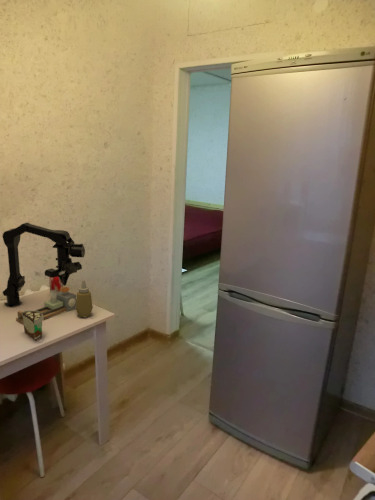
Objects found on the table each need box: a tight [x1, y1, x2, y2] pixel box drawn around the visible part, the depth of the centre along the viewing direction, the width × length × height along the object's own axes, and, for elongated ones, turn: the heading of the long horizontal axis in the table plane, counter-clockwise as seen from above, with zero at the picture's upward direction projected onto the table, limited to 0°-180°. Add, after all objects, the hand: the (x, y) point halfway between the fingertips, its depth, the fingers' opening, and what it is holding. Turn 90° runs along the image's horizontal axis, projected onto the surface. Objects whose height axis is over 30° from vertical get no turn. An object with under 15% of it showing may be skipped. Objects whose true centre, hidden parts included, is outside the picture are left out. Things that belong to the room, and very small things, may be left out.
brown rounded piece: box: [60, 286, 70, 295], centre depth 179 cm, size 4×4×4 cm
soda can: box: [48, 276, 64, 293], centre depth 194 cm, size 7×7×12 cm
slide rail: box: [15, 305, 67, 326], centre depth 169 cm, size 9×22×4 cm, turn 147°
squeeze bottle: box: [75, 280, 94, 318], centre depth 170 cm, size 8×8×18 cm
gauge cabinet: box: [56, 291, 77, 312], centre depth 180 cm, size 10×6×7 cm, turn 57°
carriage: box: [43, 290, 63, 310], centre depth 173 cm, size 7×6×8 cm
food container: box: [22, 309, 45, 342], centre depth 151 cm, size 12×6×10 cm, turn 48°
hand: (64, 285), depth 178 cm, fingers closed
